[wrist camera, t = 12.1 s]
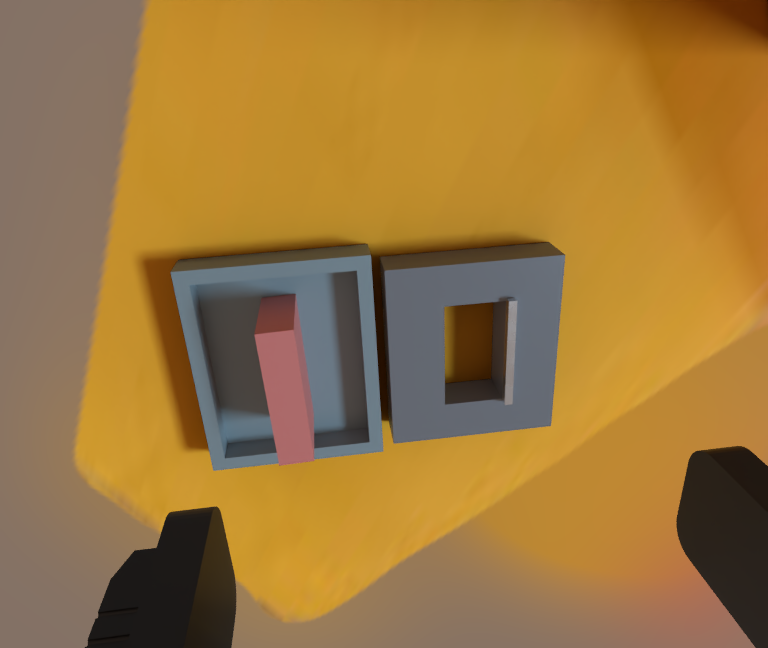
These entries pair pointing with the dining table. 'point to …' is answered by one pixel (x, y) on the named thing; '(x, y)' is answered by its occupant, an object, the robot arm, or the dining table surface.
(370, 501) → the dining table surface
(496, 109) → the dining table surface
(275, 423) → the pink block
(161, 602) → the robot arm
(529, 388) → the grey square-hole plate
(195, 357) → the tray
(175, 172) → the dining table surface
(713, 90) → the dining table surface
